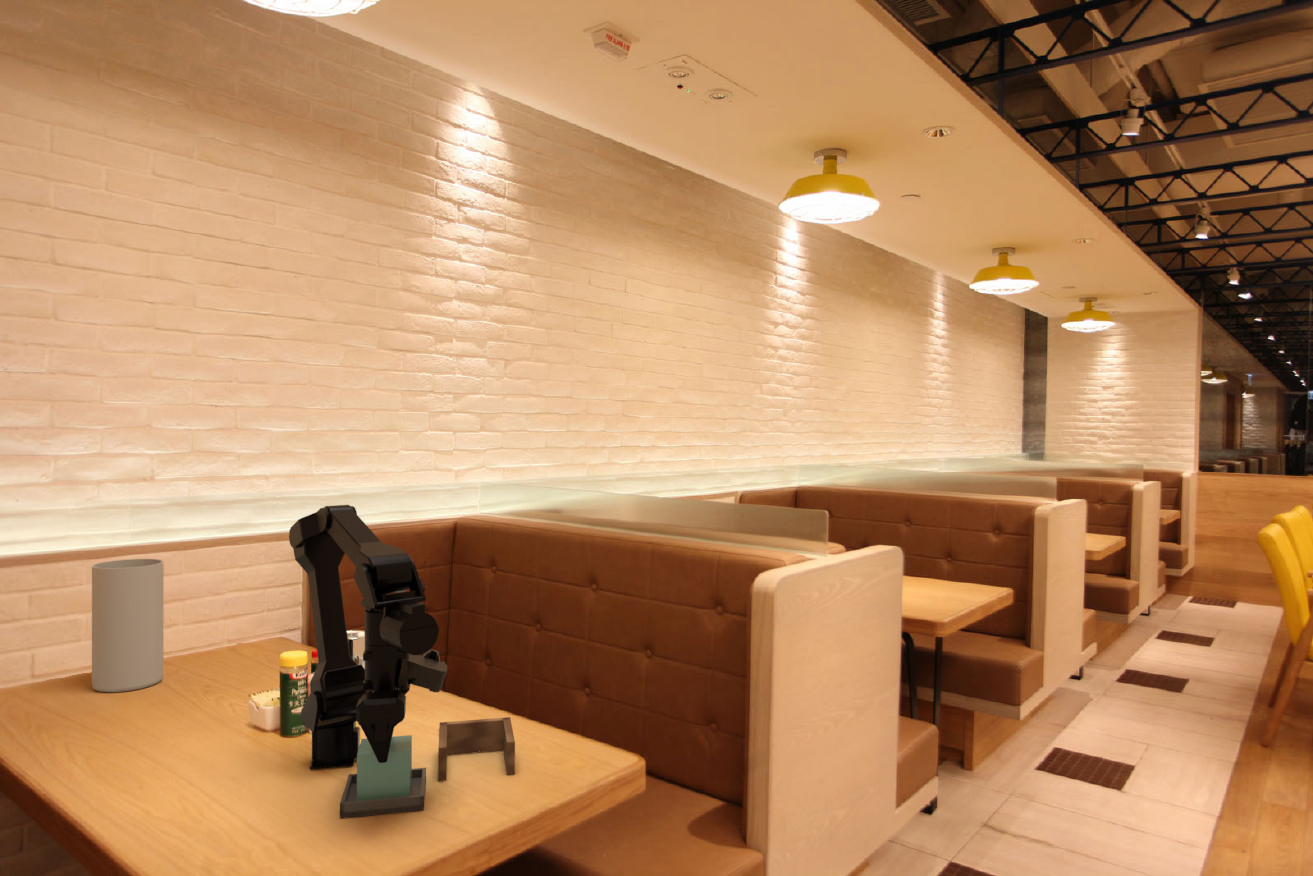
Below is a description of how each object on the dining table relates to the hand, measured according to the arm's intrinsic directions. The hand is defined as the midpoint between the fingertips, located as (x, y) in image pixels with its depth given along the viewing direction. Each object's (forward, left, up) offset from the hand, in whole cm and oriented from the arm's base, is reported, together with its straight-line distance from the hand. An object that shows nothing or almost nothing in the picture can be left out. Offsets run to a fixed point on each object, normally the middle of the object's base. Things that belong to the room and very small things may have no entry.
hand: (385, 749), depth 119 cm
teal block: (0, 0, -6) cm, 6 cm away
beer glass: (-9, +38, -7) cm, 40 cm away
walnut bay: (+13, +10, -7) cm, 18 cm away
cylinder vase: (-56, +68, -7) cm, 89 cm away
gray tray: (0, 0, -7) cm, 7 cm away
